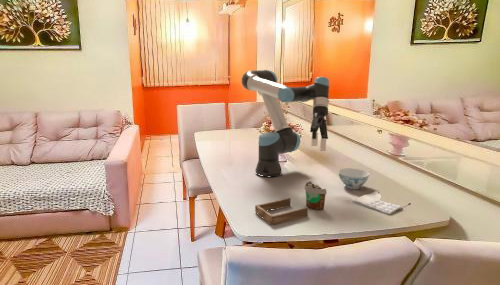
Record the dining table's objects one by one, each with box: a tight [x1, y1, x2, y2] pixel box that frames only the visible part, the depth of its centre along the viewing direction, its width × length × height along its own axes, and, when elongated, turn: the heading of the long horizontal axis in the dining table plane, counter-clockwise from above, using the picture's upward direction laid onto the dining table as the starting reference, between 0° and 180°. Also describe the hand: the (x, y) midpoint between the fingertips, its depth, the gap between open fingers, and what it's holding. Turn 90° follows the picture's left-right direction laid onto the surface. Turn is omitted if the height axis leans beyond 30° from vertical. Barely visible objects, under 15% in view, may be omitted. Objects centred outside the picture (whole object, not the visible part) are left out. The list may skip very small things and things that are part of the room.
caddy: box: [254, 197, 309, 226], centre depth 144 cm, size 13×18×4 cm
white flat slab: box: [351, 190, 402, 216], centre depth 156 cm, size 19×20×2 cm
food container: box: [303, 180, 327, 211], centre depth 151 cm, size 12×6×10 cm, turn 23°
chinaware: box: [338, 167, 370, 190], centre depth 176 cm, size 15×15×8 cm
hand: (318, 148), depth 170 cm, fingers open, 13 cm apart
